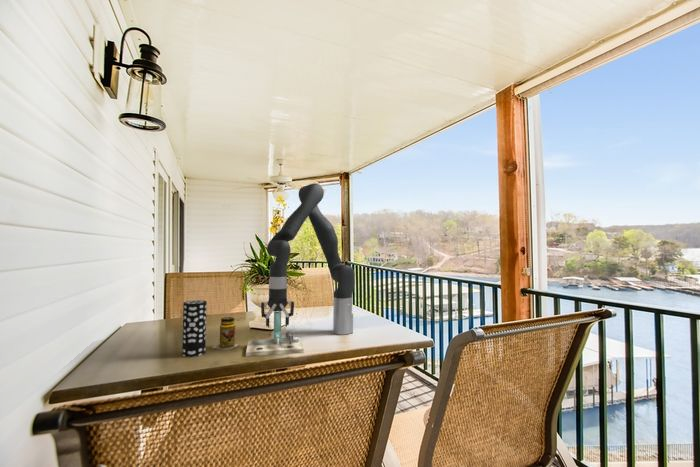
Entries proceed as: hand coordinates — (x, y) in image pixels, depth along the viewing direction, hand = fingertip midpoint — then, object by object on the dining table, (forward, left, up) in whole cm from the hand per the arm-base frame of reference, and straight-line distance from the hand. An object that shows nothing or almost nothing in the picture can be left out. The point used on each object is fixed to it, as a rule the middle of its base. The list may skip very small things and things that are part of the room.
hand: (277, 326), depth 143 cm
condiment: (+21, -5, -9) cm, 23 cm away
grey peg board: (+1, +3, -8) cm, 9 cm away
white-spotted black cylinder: (+32, +2, -9) cm, 33 cm away
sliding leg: (0, +3, -6) cm, 6 cm away
